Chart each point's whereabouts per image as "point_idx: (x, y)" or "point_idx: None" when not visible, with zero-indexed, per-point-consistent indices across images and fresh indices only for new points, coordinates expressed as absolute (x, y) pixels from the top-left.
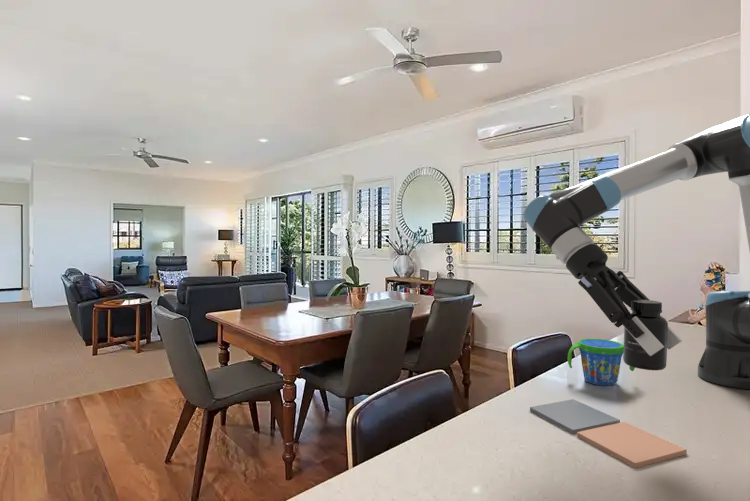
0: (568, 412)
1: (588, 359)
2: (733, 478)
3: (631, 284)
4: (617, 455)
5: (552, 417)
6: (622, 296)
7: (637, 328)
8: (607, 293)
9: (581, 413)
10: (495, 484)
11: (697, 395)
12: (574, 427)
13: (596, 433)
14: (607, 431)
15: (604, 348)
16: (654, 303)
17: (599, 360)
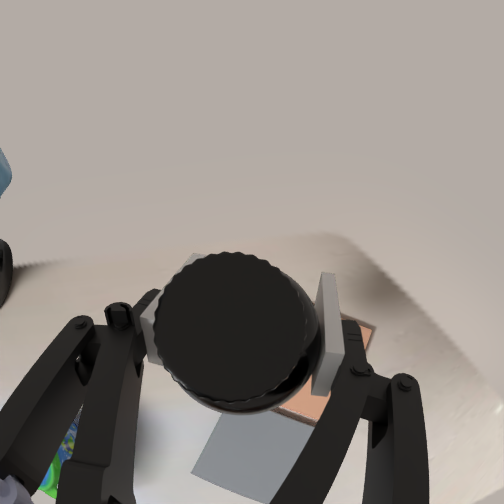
0: (260, 463)
1: None
2: (308, 242)
3: (12, 424)
4: None
5: None
6: (126, 461)
7: (355, 335)
8: (394, 491)
9: (248, 447)
10: (486, 405)
11: (47, 311)
12: None
13: (316, 403)
14: (296, 394)
15: None
16: (277, 272)
17: (64, 452)
